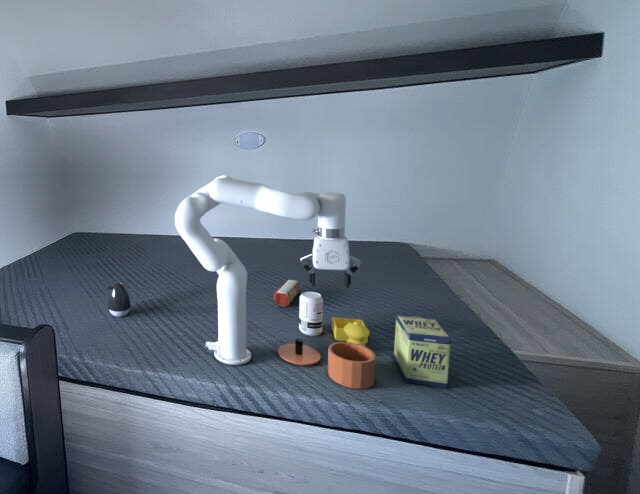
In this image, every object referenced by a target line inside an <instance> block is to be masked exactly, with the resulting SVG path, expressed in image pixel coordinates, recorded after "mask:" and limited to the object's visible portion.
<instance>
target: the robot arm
mask: <svg viewBox="0 0 640 494" xmlns="http://www.w3.org/2000/svg"><path fill="white" fill-rule="evenodd" d="M221 204H225V205H231V206H236V207H242V208H247V209H251V210H255V211H259V212H263V213H267V214H271V215H275V216H279V217H284V218H288V219H295V220H300V221H310V220H312V219H314V218H316V217H317V226H316V228H312V233H313V234H316V235H315V236H314V239H313V245H312V253H310V254H308V255H305V256H303V257H301V258H299V261H300V263H301V265H302V266H303V269H305V271H307V272H308V282H309V283H310V284H311V286H312V287H315V286H316V274H315V272H316V271H317V270H321V271H345V272H343V286H344V287H345V288H346V289H349V287H350V285H351V284H352V276H353V274H354V273H356V272H357V271H358V269H359V267H360V266H361V264H362V260H360V259H359V258H357V257H354V256H353V255H350V244H349V239H348V237H347V236H346V233H345V232H346V207H347V197H346V195H345V194H343V193H341V192H323V193H322V192H313V191H311V192H310V191H300V192H297V193H292V192H286V191H282V190H279V189H275V188H272V187H270V186H268V185H266V184H263V183H259V182H253V181H247V180H241V179H240V180H239V179H236V178H232V177H230V176H228V175H220V176H217V177H215V178H214V179H213V180H212V181H210V182H209V183H207V184H206V185H204V186H202V187H201V188H198V190H196V191H194V192H193V193H191V194H190V195H187V197H185V198H184V199H183V200H182V201H181V202H180V203H179V205H178V207H177V208H176V211H175V215H174V225H175V229H176V231H177V233H178V235H180V237H181V239H182V240H183V241H184V242H185V244H186V245H187V246H188V248H189V249H190V251H191V252H192V253H193V255H194V256H195V257H196V259H197V260H198V262H199V263H200V264H201V265H202V267H203V268H204V269H205V270H207V272H216V273H217V275H218V278H217V281H216V297H217V298H216V299H217V325H218V326H217V327H218V328H217V329H218V331H217V332H218V339H217V341H214V342H213V341H205V348H208V351H213V353H214V354H213V355H214V357H215V358H216V360H218V362H220V363H223V364H225V365H230V366H241V365H246V364H248V363H249V362H250V361H251V359H252V353H251V351H250V350H249V349H248V348H247V284H248V271H247V269H246V267H245V266H244V264H243V263H242V262H241V260H240V259H239V257H238V256H237V255H236V254H235V252H234V251H233V250H232V248H231V247H230V246H229V244H227V243H226V242H225V241H224V240H223V239H220V238H214V237H213V236H212V235H211V234H210V232H209V231H208V229H207V228H206V227H205V226H204V225H203V224H202V222H201V218H203V216H204V215H205V214H206V213H208V212H210V211H212V209H214V208H216V207H218V206H219V205H221ZM309 261H311V263H312V264H311V265H310V266H309V264H307V262H309ZM350 262H353V265H351V263H350Z"/></svg>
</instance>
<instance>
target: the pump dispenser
mask: <svg viewBox="0 0 640 494" xmlns="http://www.w3.org/2000/svg"><path fill="white" fill-rule="evenodd" d="M106 288H107V289H108V290H110V291H109V294H108V299H107V309H108V310H109V314H111V315H112V316H114V317H116V318H117V317H118V318H121V317H125V316H126V315H128V313H129V312H130V310H131V305H132V304H131V299H130V295H129V292H128V290H127V288H126V285H125V284H124V283H122V282H121V281H116V282H114V283H113V284H112V285H107V286H106Z"/></svg>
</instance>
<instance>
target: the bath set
mask: <svg viewBox="0 0 640 494" xmlns="http://www.w3.org/2000/svg"><path fill="white" fill-rule="evenodd" d="M331 331H332V333H333V336H334V339H335V341H339V342H351V343H355V344H359V345H362V346H364V347H366V344H368V343H369V336H370V330H369V328H368V327H367V326H366V325H365V323H364V321H363V319H357V318H344V317H335V316H333V317H331Z"/></svg>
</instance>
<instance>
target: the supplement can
mask: <svg viewBox="0 0 640 494" xmlns="http://www.w3.org/2000/svg"><path fill="white" fill-rule="evenodd" d="M298 303H299V305H298V307H299V309H298V310H299V311H298V313H299V314H298V329H299V331H300V332H301V333H302V334H304V335H307V336H314V337H315V336H319V335H321V334H322V333H323V315H324V313H323V312H324V299H323V297H322V295H321V293H318V292H316V291H303V292H301V294H300V296H299V302H298Z"/></svg>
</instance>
